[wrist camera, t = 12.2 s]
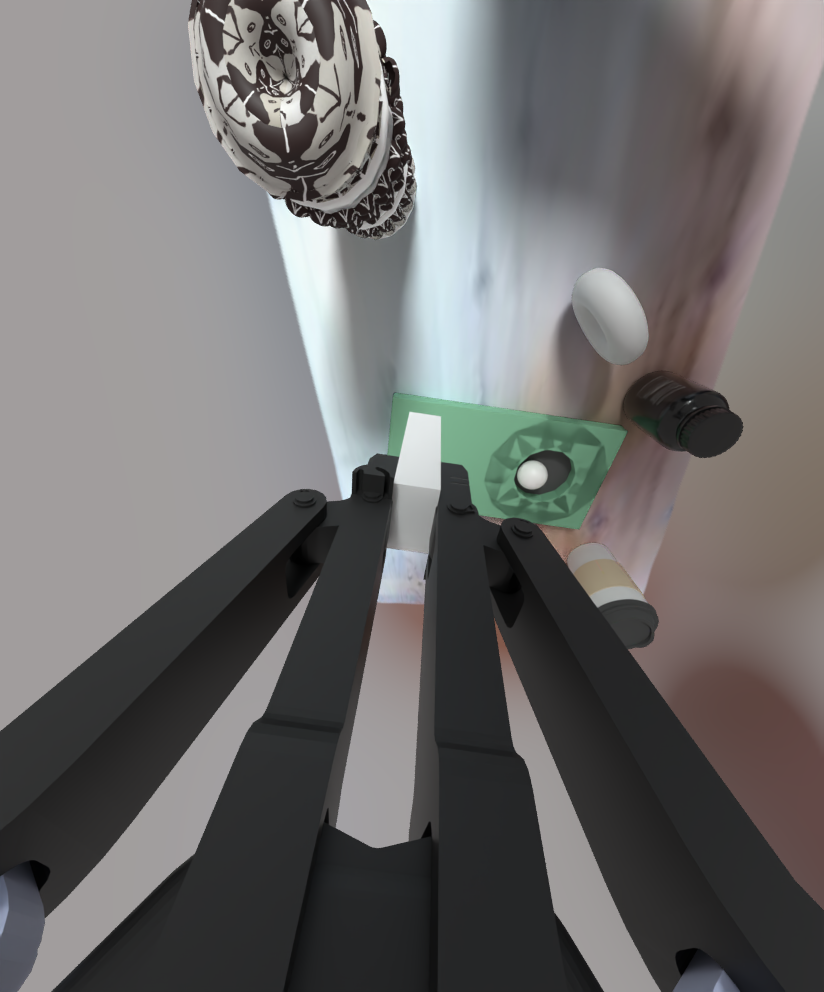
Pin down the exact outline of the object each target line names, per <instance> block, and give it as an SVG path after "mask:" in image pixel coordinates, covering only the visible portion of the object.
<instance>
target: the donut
mask: <svg viewBox="0 0 824 992" xmlns="http://www.w3.org/2000/svg"><path fill="white" fill-rule="evenodd" d="M572 304H573V309H574V313H575V316H576V318H577V321H578V323H579V325H580V327H581V329H582V331H583V333H584V335H585V336H586V338H587V339H588V341H589V342H590V344H591V345H592V346H593V348H594V349H595V350H596V352H597V353H598V354H599V355H600V356H601V357H602V358H604V359H605V360H606V361H608V362H610V363H612V364H616V365H626V364H629V363H631V362H633V361H635V360H636V359H637V358H638V357H640V356H641V355H642V354H643V352H644V351H645V349H646V346H647V342H648V338H649V334H648V324H647V320H646V317H645V313H644V311H643V308H642V306H641V304H640V302H639V300H638V298H637V297H636V295H635V294H634V292H633V291H632V289H631V287H630V286H629V285H628V284H627V283H626V282H625V281H624V280H623V278H621V277H620V276H619V275H617V274H616V273H614V272H613V271H612V270H609V269H605V268H594V269H592V270H590V271H588V272H586V273H584V274H583V275H582V276H581V277H580V278H578V280H577V282H576V283H575V285H574V289H573V293H572Z"/></svg>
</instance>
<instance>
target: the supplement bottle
mask: <svg viewBox="0 0 824 992" xmlns="http://www.w3.org/2000/svg"><path fill="white" fill-rule="evenodd" d="M623 407H624V412H625V415H626V417H627V418H628V419H629V420H630V421H631V422H632V423H633V424H635V425H636V426H637V427H638V428H640V429H641V430H642V431H644V432H645V433H646V434H647V435H649V436H650V437H651V438H653V439H654V440H655V441H656V442H658V443H659V444H660V445H662V446H663V447H665V448H666V449H669V450H672V451H680V452H683V451H687V452H689V453H690V454H692V455H694V456H696V457H699V458H702V457H703V458H707V457H712V456H716V455H719V454H721V453H723V452H725V451H726V450H728V449H729V448H731V447H732V446H733V445H734V444H735V443H736V441H738V439H739V437H740V436H741V433H742V431H743V430H742V429H743V422H742V421H741V418H739V416H738V415H736V414H734V413H733V412H731V411H730V410H729V405H728V402H727V400H726V399H725V397H724V396H722V395H721V394H720V393H718V392H716V391H714V390H712V389H709V388H707V387H705V386H703V385H700V384H698V383H696V382H694V381H691V380H689V379H687V378H684V377H682V376H680V375H678V374H675V373H673V372H669V371H657V372H653V373H650V374H647V375H645V376H643V377H642V378H640V379H639V380H638V381H636V382H635V383H634V384H633V385H632V386H631V388H630V389H629V391H628V392H627V394H626V396H625V399H624V405H623Z"/></svg>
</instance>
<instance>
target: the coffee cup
mask: <svg viewBox="0 0 824 992" xmlns="http://www.w3.org/2000/svg"><path fill="white" fill-rule="evenodd" d="M567 564H568V567H569V569H570V570H571V572H572V573H573V575H574V576H575V577H576V579H577V580H578V582H579V583H580V584H581V586H582V587H583V588H584V590H585V591H586V593H587V594H588V595H589V597H590V598H591V599H592V601H593V602H594V604H595V605H596V606H597V608H598V609H599V611H600V612H601V613H602V615H603V616H604V617H605V619H606V620H607V622H608V623H609V624H610V626H611V627H612V628H613V630H614V631H615V633H616V634H617V635H618V637H619V638H620V640H621V641H622V642H623V644H624V645H625V646H626V648H627V649H632V648H635V647H637V648H642V647H646V646H647V645H649V644H650V643H651V642H652V641H653V639H654V631H655V630H656V628H657V626H658V622H659V620H658V616H657V614H656V611H655V609H654V608H653V607H652V606H651V605H650V604H648V602H647V601H646V600H645V597H644V595H643V594H642V592H641V591H640V590H639V588H638V587H637V586H636V584H635V583H634V582H633V580H632V579H631V578H630V576H629V575H628V574H627V572H626V571H625V570H624V568H623V567H622V566H621V565H620V564H619V563H618V562H617V560H616V559H615V558H614V556H613V555H612V554H611V552H610V551H609V549H608V548H607V547H606V546H604V545H602V544H599V543H587V544H583V545H580V546H578V547H577V548H575V549H574V550H573V551H572V552H571V553H570V554H569V556H568V558H567Z"/></svg>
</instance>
